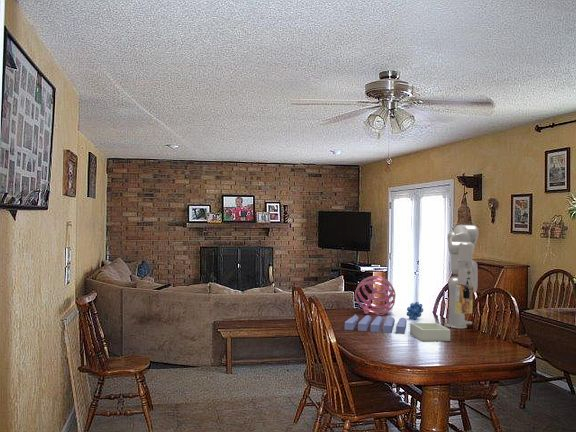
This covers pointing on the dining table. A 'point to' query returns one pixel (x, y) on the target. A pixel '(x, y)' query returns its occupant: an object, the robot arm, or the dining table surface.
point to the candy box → (463, 301)
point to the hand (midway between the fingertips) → (464, 297)
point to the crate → (429, 332)
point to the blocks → (376, 324)
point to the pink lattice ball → (371, 297)
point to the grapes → (414, 310)
